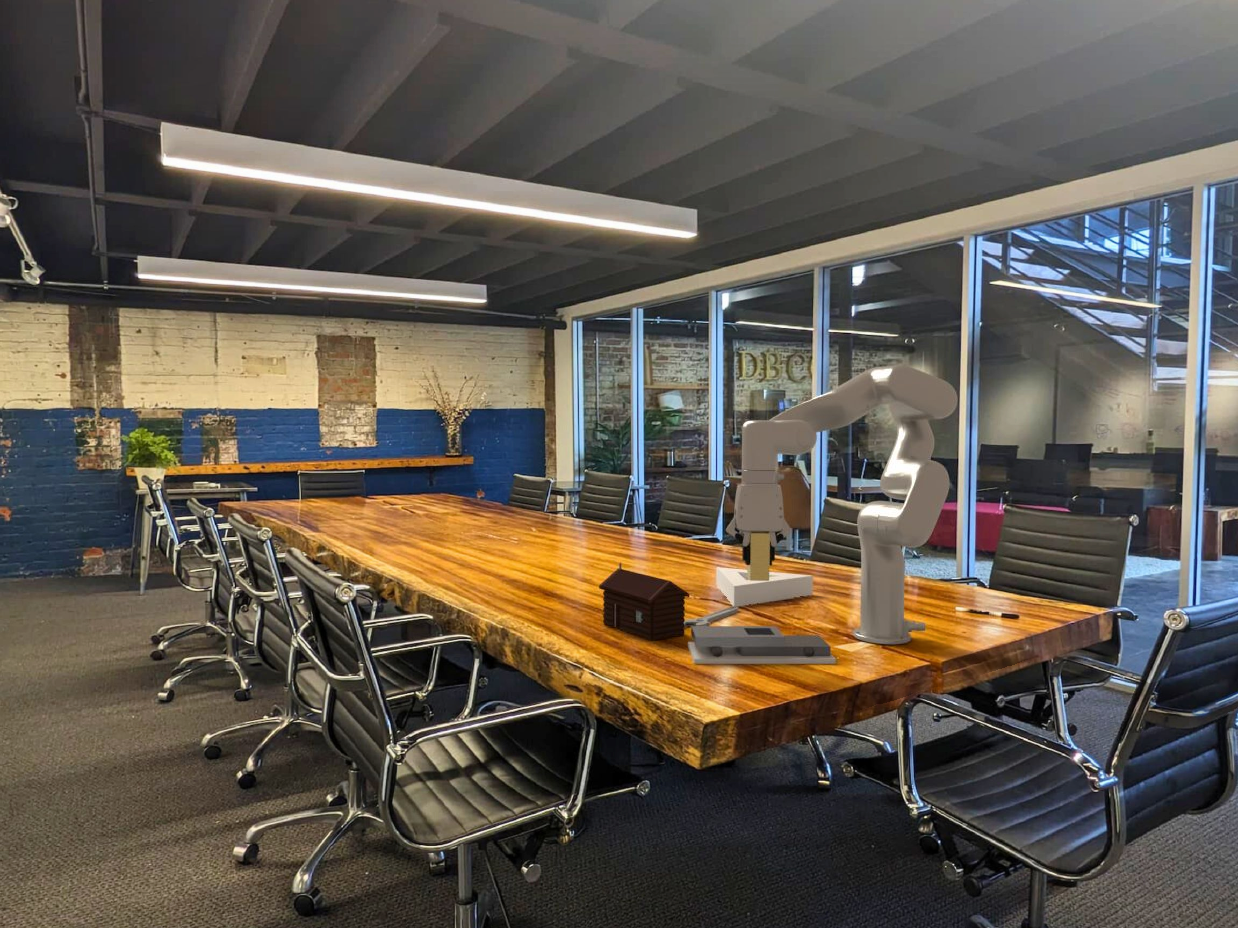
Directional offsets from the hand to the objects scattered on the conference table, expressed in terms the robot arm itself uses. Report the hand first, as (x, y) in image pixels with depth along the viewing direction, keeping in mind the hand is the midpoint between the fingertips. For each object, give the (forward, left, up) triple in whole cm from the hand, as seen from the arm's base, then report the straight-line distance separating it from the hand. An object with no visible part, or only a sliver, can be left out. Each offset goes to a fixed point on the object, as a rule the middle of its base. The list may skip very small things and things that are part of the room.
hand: (758, 563), depth 163 cm
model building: (+24, -21, -20) cm, 37 cm away
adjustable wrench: (+5, -30, -20) cm, 36 cm away
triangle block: (-8, -64, -20) cm, 67 cm away
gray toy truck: (0, +1, -19) cm, 19 cm away
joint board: (0, +1, -19) cm, 19 cm away
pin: (0, 0, -3) cm, 3 cm away
